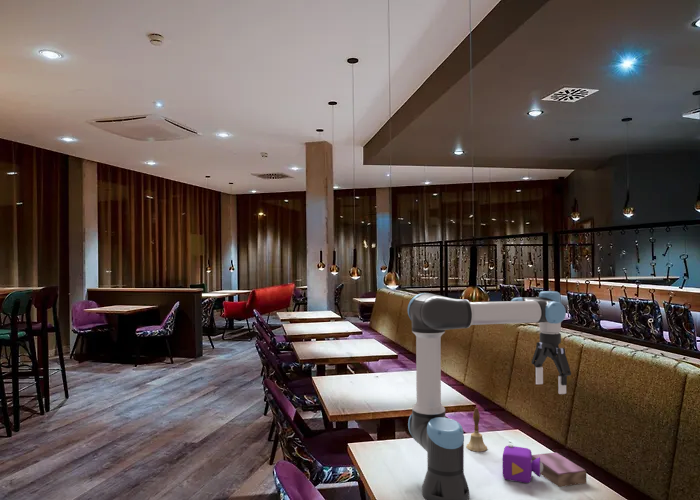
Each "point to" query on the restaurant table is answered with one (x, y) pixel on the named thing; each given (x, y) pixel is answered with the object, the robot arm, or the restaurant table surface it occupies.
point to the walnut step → (560, 470)
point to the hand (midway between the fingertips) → (550, 388)
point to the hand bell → (476, 436)
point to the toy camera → (520, 464)
